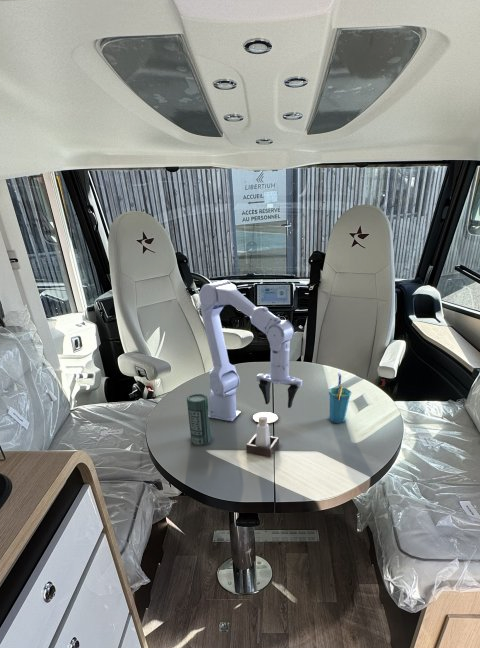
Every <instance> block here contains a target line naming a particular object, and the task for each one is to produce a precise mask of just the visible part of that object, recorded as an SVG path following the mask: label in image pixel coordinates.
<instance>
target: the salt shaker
mask: <svg viewBox="0 0 480 648" xmlns="http://www.w3.org/2000/svg"><path fill="white" fill-rule="evenodd" d="M258 420H259V423H257V426H256V433H255V434H256V443H255V445H257V446H262V447H268V448H269V447H270V446H271V445H270V436H271V435H270V424H267V420H268V418H267V417H265V416H261V417H259V418H258Z"/></svg>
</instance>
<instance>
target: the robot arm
mask: <svg viewBox="0 0 480 648" xmlns="http://www.w3.org/2000/svg"><path fill="white" fill-rule="evenodd" d="M198 297H199V303H200V313H201V318H202V323H203V327H204V331H205V335H206V339H207V343H208V349H209V353H210V357H211V361H212V368H211V370H210V371H209V374H208V375H209V388H210V391H209V393H208V396H207V397H208V410H209V419H210V418H211V419H216V420H221V421H228V422H233V421H234V420H235V419H236V418H237V417H238V416H239V415H240V414H241V411H240V410H237V390H238V387H239V386H240V383H241V379H240V376H239V374H238V372H237V370H236V369H237V368H236V366H235V365H233V364H232V363H230V359H229V355H228V349H227V346H226V341H225V337H224V332H223V326H222V322H221V316H220V314H221V312H222V310H223V309H224V307H225V306H229V305H230V306H232V307H234V308H235V309H236V310H238V311H240V312H241V313H242V314H244V315H246V316H247V317H249V318H250V323H251V325H253V327H256V328H257V329H258V330H259V331H260V332H262V333H263V334H265V336H266V338H267V340H268V343H269V348H270V363H269V364H270V365H269V368H270V369H269V371H270V373H258V374H257V375H256V382H259V383H258V387H259V389H260V391H261V393H262V395H263V399H264V404H265V405H269V404H270V402H271V401H270V400H271V385H272V384H273V385H285V386H288V387H287V398H288V399H287V408H288V409H291V407H292V406H293V402H294V398H295V396H296V394H297V391H298V390H299V388H302V386H303V379H301V378H297V377H294V376H291V375H290V373H289V372H290V351H291V350H290V349H291V340H292V339H293V338H294V335H295V328H294V326H293V324H292V323H291V322H290V320H288V319H283V320H282V319H281V318H280V317H279V316H276V315H274V313H272V312H271V311H269V308H268V307H266V306H256V305H255V304H254V303H253V302H252V301H250V300H249V299H248V298H247V297H246V296H244V294H242V293H241V292H240V291H239V290H238V289H237V286H236V285H235V284H234V283H232V282H231V281H230V280H229V279H223V280H221V281H215V282H212V283H205V284H203V285H202V286H201V288H200V290H199V291H198ZM271 383H272V384H271Z"/></svg>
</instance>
